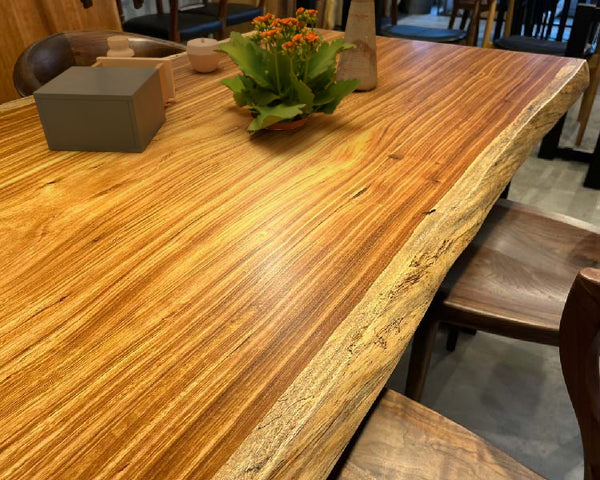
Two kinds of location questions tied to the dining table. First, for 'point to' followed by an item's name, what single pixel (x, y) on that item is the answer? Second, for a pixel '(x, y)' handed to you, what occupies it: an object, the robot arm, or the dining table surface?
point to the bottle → (360, 46)
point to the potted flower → (286, 72)
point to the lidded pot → (203, 54)
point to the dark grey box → (101, 109)
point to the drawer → (160, 63)
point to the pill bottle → (119, 47)
